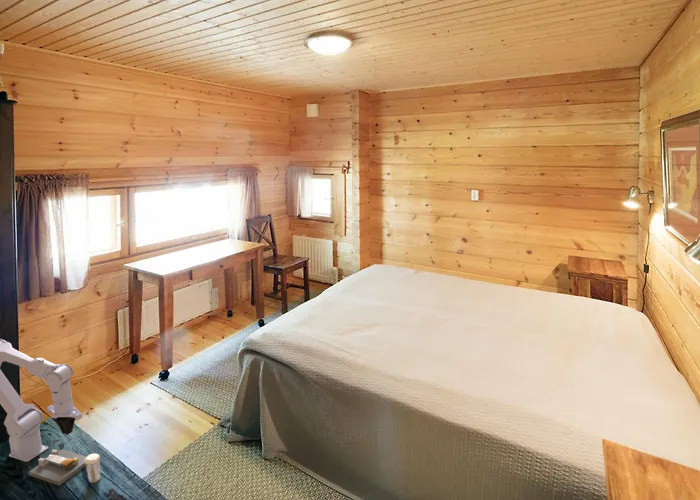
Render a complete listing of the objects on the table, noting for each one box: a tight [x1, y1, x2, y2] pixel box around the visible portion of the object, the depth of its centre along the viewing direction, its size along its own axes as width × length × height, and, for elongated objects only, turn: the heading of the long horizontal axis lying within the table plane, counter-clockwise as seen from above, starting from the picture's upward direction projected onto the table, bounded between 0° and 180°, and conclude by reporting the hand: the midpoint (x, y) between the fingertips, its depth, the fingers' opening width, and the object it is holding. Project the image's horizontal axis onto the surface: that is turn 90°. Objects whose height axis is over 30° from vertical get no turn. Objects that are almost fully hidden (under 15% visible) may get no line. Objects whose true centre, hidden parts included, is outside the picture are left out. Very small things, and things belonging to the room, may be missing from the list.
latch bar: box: [43, 453, 74, 468], centre depth 145 cm, size 10×3×1 cm, turn 72°
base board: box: [28, 448, 87, 487], centre depth 145 cm, size 14×12×4 cm
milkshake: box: [84, 453, 101, 484], centre depth 139 cm, size 4×5×10 cm
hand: (67, 432), depth 150 cm, fingers closed
